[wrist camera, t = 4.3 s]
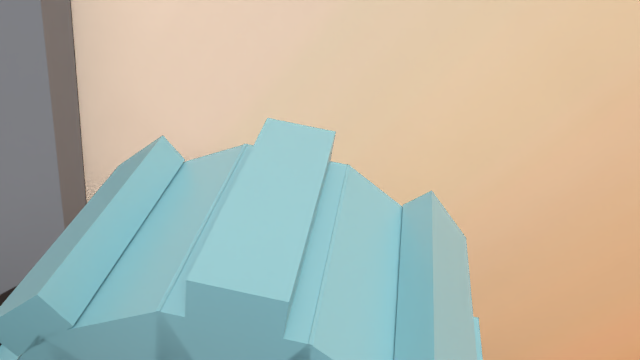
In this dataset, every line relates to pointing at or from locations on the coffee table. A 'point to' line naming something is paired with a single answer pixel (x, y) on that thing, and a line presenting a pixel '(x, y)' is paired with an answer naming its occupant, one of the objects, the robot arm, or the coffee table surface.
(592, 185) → the coffee table surface
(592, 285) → the coffee table surface
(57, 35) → the gear board
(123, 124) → the coffee table surface
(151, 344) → the teal gear
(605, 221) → the coffee table surface
